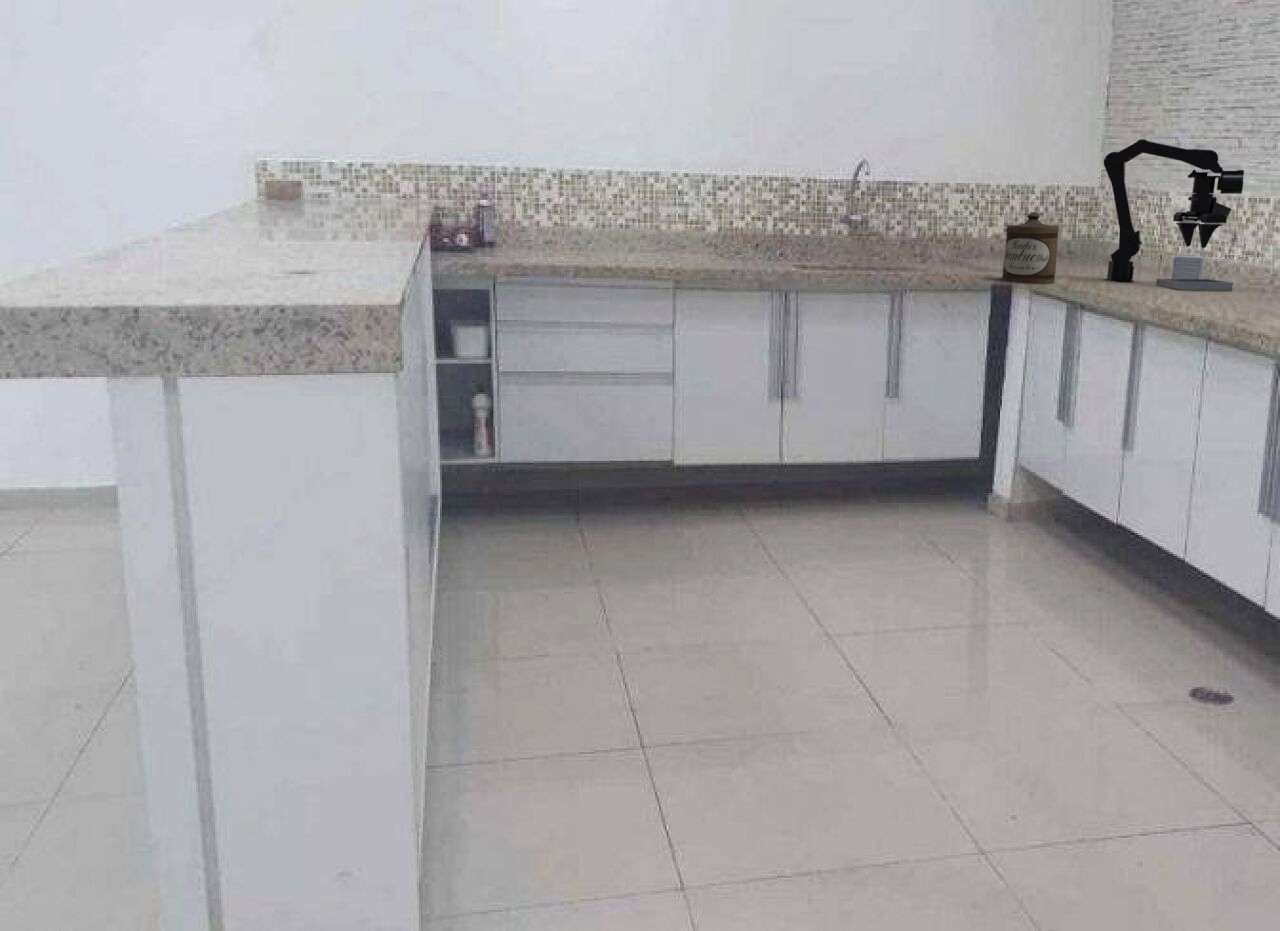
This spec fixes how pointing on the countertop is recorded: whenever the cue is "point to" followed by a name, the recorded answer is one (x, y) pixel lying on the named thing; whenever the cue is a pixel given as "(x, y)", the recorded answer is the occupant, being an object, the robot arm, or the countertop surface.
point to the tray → (1195, 284)
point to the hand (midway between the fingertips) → (1195, 247)
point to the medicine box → (1187, 267)
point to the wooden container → (1031, 252)
